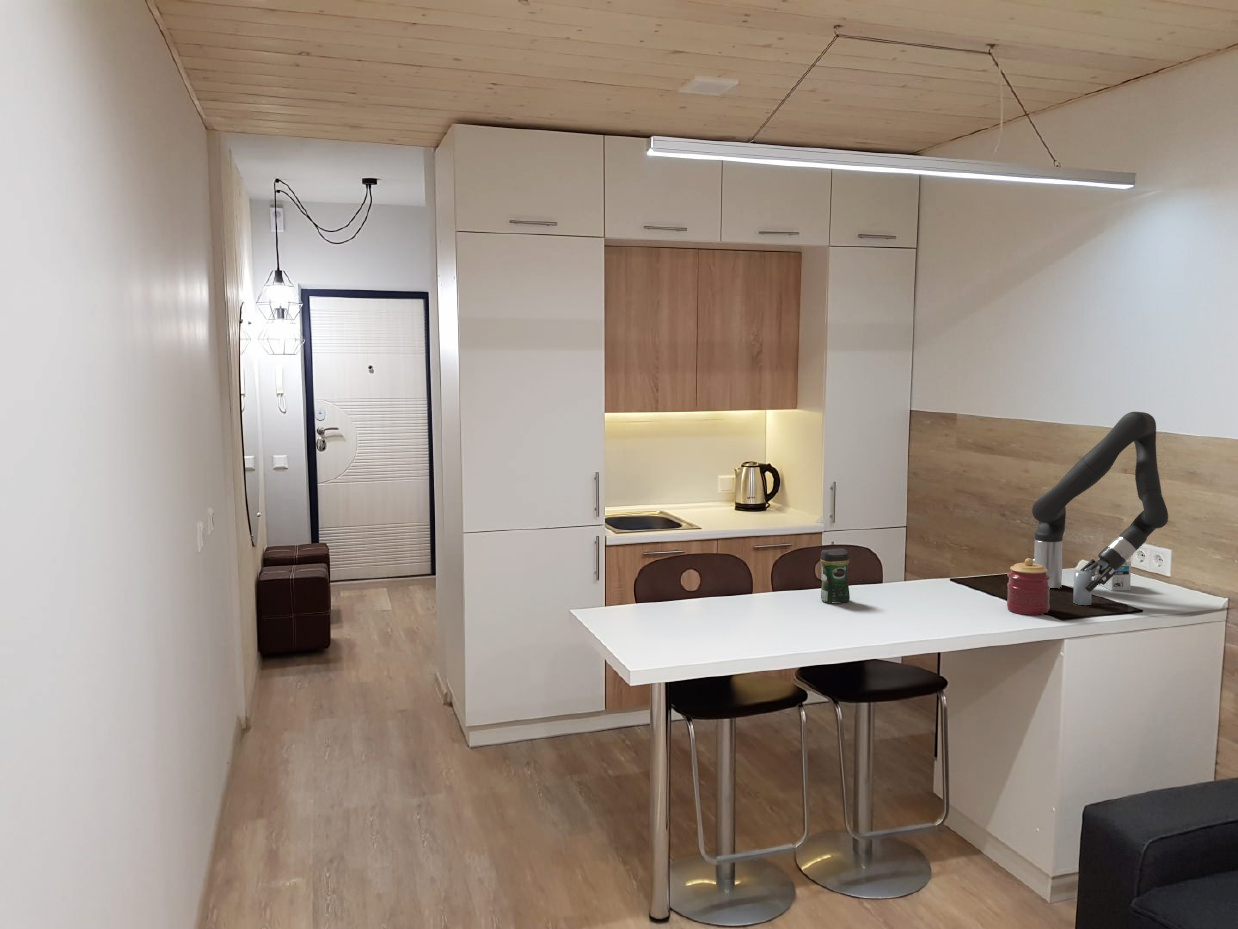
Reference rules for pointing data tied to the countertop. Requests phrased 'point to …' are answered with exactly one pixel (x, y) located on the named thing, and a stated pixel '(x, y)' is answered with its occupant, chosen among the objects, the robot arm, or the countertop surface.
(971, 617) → the countertop surface
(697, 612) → the countertop surface
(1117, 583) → the light bulb box
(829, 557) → the coffee jar
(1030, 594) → the canister
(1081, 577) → the grey rounded bar
